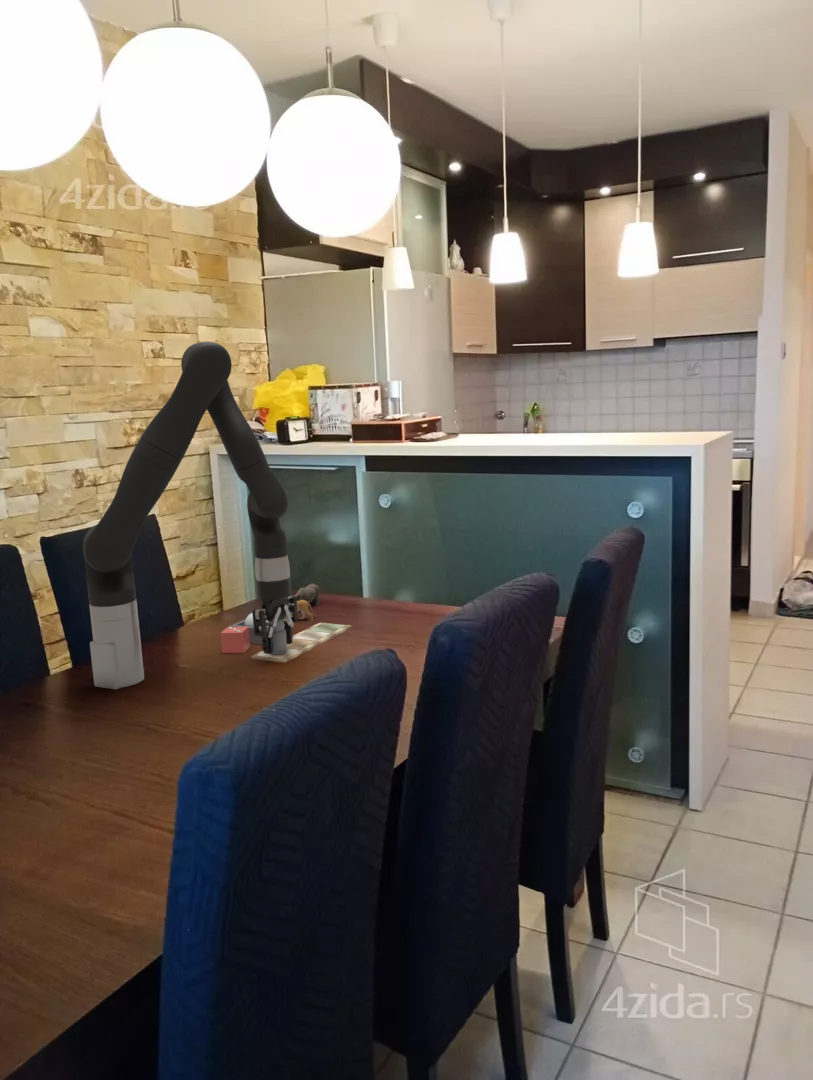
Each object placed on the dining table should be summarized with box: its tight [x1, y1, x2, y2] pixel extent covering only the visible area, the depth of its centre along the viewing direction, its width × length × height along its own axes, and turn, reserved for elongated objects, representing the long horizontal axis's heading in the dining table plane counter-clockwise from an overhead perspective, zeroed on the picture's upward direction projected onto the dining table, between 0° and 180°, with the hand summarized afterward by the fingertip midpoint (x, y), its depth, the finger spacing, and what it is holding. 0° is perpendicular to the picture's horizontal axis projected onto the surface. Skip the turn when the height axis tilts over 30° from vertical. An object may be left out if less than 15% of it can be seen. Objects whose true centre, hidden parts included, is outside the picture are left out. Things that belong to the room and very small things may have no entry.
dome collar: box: [229, 618, 269, 645], centre depth 208 cm, size 9×9×4 cm
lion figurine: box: [290, 600, 317, 621], centre depth 222 cm, size 12×4×7 cm, turn 118°
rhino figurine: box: [290, 583, 321, 609], centre depth 236 cm, size 4×14×6 cm, turn 156°
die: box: [220, 626, 251, 654], centre depth 199 cm, size 5×5×5 cm
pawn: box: [268, 620, 287, 655], centre depth 193 cm, size 4×4×8 cm
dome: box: [244, 612, 269, 628], centre depth 208 cm, size 6×6×6 cm
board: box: [250, 622, 352, 664], centre depth 203 cm, size 29×9×1 cm, turn 154°
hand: (278, 648), depth 194 cm, fingers open, 7 cm apart
